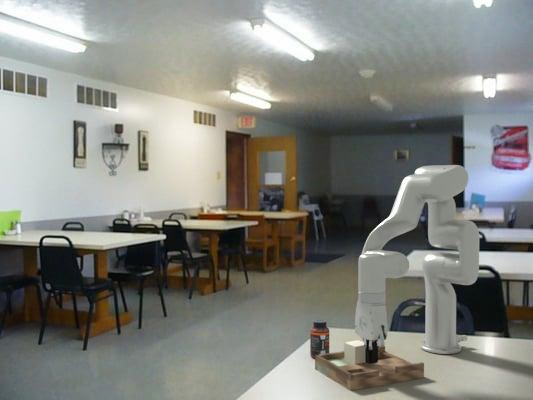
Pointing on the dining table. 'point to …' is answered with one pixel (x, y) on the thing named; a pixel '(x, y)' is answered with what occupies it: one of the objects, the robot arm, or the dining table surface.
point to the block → (354, 352)
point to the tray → (368, 370)
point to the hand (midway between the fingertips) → (371, 362)
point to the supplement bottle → (319, 338)
